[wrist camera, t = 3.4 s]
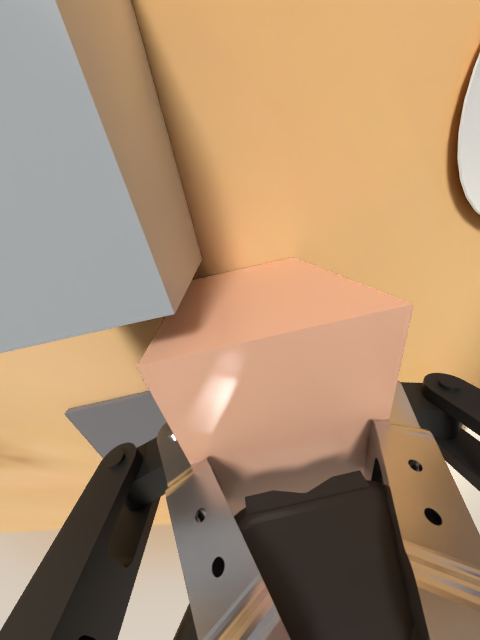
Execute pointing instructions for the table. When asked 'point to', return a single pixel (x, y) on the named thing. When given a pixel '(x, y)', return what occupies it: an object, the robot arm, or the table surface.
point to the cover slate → (84, 176)
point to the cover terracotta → (277, 374)
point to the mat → (118, 421)
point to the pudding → (471, 141)
